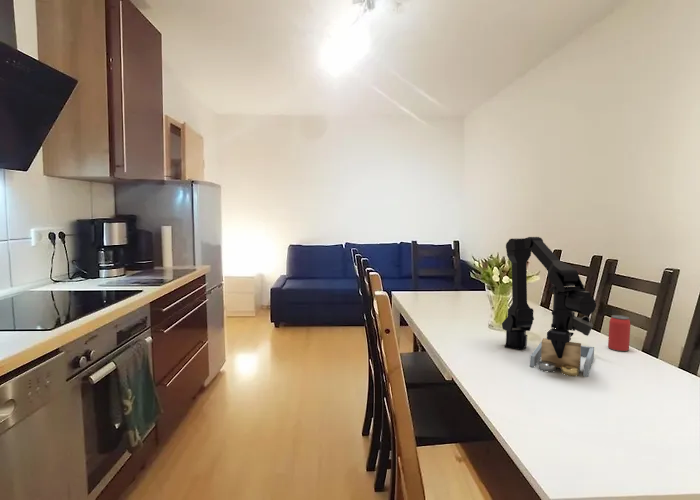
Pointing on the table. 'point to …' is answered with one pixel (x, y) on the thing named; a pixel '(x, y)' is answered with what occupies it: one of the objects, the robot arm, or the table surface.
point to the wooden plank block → (569, 355)
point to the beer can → (619, 333)
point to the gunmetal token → (547, 366)
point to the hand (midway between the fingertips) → (560, 356)
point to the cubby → (585, 352)
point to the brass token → (570, 370)
